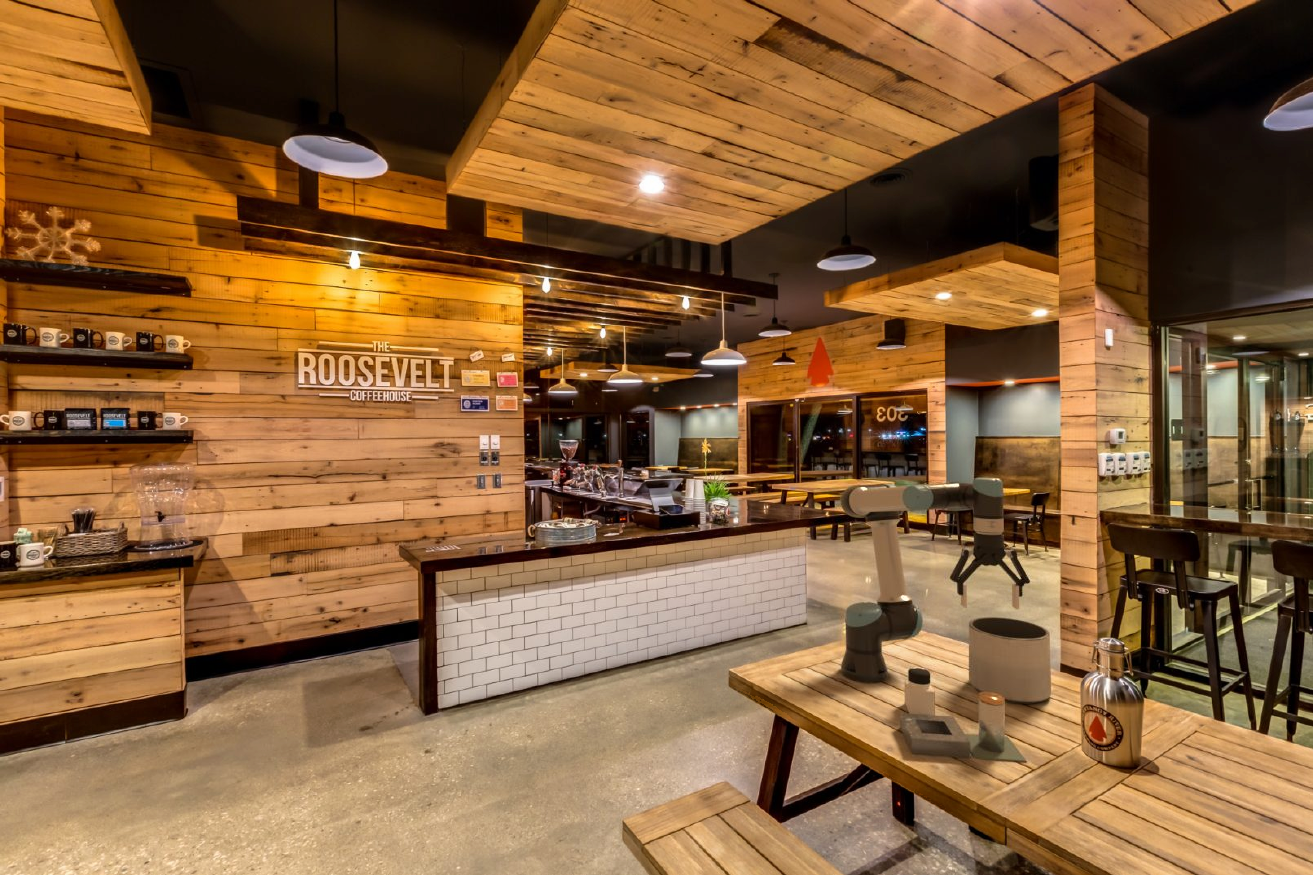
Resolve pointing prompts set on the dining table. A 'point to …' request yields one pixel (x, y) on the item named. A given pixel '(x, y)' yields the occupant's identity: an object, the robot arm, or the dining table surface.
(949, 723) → the housing
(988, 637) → the planter
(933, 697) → the medicine bottle
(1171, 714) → the dining table surface
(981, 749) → the mat
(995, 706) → the glass jar
